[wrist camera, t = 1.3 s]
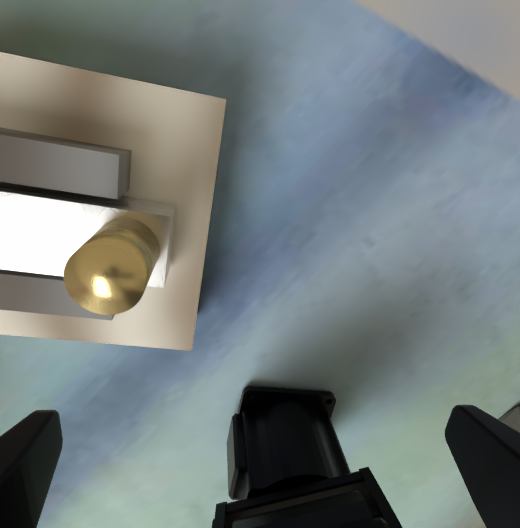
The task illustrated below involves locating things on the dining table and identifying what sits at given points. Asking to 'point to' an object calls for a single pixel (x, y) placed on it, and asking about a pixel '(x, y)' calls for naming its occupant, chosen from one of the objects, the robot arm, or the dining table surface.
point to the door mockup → (109, 188)
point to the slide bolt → (87, 243)
